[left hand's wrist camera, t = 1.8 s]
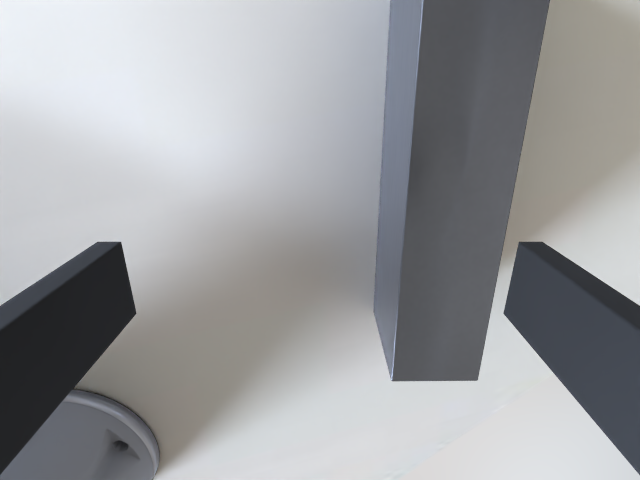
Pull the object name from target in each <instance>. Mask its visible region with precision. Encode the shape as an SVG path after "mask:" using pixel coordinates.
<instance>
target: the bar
mask: <svg viewBox="0 0 640 480" xmlns="http://www.w3.org/2000/svg"><path fill="white" fill-rule="evenodd" d="M549 3H550V0H391V1H390V19H389V38H388V56H387V75H386V93H385V111H384V130H383V148H382V166H381V185H380V203H379V221H378V240H377V258H376V276H375V295H374V315H375V319H376V323H377V327H378V331H379V334H380V338H381V342H382V346H383V350H384V354H385V358H386V362H387V366H388V369H389V373H390V377H391V381H477V380H478V376H479V370H480V365H481V360H482V355H483V349H484V344H485V339H486V334H487V328H488V323H489V318H490V313H491V307H492V302H493V297H494V292H495V286H496V281H497V276H498V271H499V265H500V260H501V255H502V250H503V244H504V239H505V234H506V229H507V223H508V218H509V213H510V207H511V202H512V197H513V192H514V186H515V181H516V176H517V171H518V165H519V160H520V155H521V150H522V144H523V139H524V134H525V129H526V123H527V118H528V113H529V108H530V102H531V97H532V92H533V87H534V81H535V76H536V71H537V66H538V60H539V55H540V50H541V45H542V39H543V34H544V29H545V24H546V18H547V13H548V8H549Z"/></svg>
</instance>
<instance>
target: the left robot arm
mask: <svg viewBox="0 0 640 480" xmlns="http://www.w3.org/2000/svg"><path fill="white" fill-rule="evenodd" d="M135 315H136V309H135V305H134V300H133V295H132V291H131V286H130V281H129V277H128V272H127V268H126V263H125V258H124V254H123V249H122V244H121V242H97V243H95V244H94V245H92V246H91V247H89V248H88V249H86V250H85V251H83V252H82V253H80V254H79V255H77V256H76V257H74V258H73V259H71V260H69V261H68V262H66V263H65V264H63V265H62V266H60V267H59V268H57V269H56V270H54V271H53V272H51V273H50V274H48V275H47V276H45V277H44V278H42V279H41V280H39V281H38V282H36V283H34V284H33V285H31V286H30V287H28V288H27V289H25V290H24V291H22V292H21V293H19V294H18V295H16V296H15V297H13V298H12V299H10V300H9V301H7V302H6V303H4V304H3V305H1V306H0V480H153V478H154V476H155V473H156V471H157V468H158V465H159V458H160V456H159V448H158V444H157V442H156V439H155V437H154V435H153V434H152V432H151V430H150V429H149V428H148V426H147V425H146V424H145V423H144V422H143V421H142V420H141V419H140V418H139V417H138V416H137V415H136V414H134V413H133V412H132V411H131V410H129V409H128V408H126V407H124V406H123V405H121V404H119V403H117V402H115V401H113V400H111V399H109V398H106V397H104V396H101V395H97V394H94V393H90V392H86V391H79V390H72V389H73V388H74V387H75V386H76V385H77V383H78V382H79V381H80V380H81V379H82V377H83V376H84V375H85V374H86V373H87V371H88V370H89V369H90V368H91V367H92V366H93V364H94V363H95V362H96V361H97V360H98V358H99V357H100V356H101V355H102V354H103V353H104V351H105V350H106V349H107V348H108V347H109V345H110V344H111V343H112V342H113V341H114V339H115V338H116V337H117V336H118V335H119V334H120V332H121V331H122V330H123V329H124V328H125V326H126V325H127V324H128V323H129V322H130V320H131V319H132V318H133V317H134V316H135ZM504 315H505V316H506V317H507V318H508V319H509V320H510V322H511V323H512V324H513V325H514V326H515V328H516V329H517V330H518V331H519V332H520V334H521V335H522V336H523V337H524V338H525V339H526V341H527V342H528V343H529V344H530V345H531V347H532V348H533V349H534V350H535V351H536V353H537V354H538V355H539V356H540V357H541V358H542V360H543V361H544V362H545V363H546V364H547V366H548V367H549V368H550V369H551V370H552V371H553V373H554V374H555V375H556V376H557V377H558V379H559V380H560V381H561V382H562V383H563V384H564V386H565V387H566V388H567V389H568V390H569V392H570V393H571V394H572V395H573V396H574V398H575V399H576V400H577V401H578V402H579V403H580V405H581V406H582V407H583V408H584V409H585V411H586V412H587V413H588V414H589V415H590V416H591V418H592V419H593V420H594V421H595V422H596V424H597V425H598V426H599V427H600V428H601V430H602V431H603V432H604V433H605V434H606V436H607V437H608V438H609V439H610V440H611V441H612V443H613V444H614V445H615V446H616V447H617V449H618V450H619V451H620V452H621V453H622V454H623V456H624V457H625V458H626V459H627V460H628V462H629V463H630V464H631V465H632V466H633V468H634V469H635V470H636V471H637V472H638V473H639V475H640V306H639V305H637V304H636V303H634V302H633V301H631V300H630V299H628V298H627V297H625V296H624V295H622V294H621V293H619V292H618V291H616V290H615V289H613V288H612V287H610V286H609V285H607V284H606V283H604V282H602V281H601V280H599V279H598V278H596V277H595V276H593V275H592V274H590V273H589V272H587V271H586V270H584V269H583V268H581V267H580V266H578V265H577V264H575V263H574V262H572V261H571V260H569V259H567V258H566V257H564V256H563V255H561V254H560V253H558V252H557V251H555V250H554V249H552V248H551V247H549V246H548V245H546V244H545V243H543V242H519V244H518V249H517V254H516V258H515V263H514V268H513V272H512V277H511V281H510V286H509V291H508V295H507V300H506V305H505V309H504Z"/></svg>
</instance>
